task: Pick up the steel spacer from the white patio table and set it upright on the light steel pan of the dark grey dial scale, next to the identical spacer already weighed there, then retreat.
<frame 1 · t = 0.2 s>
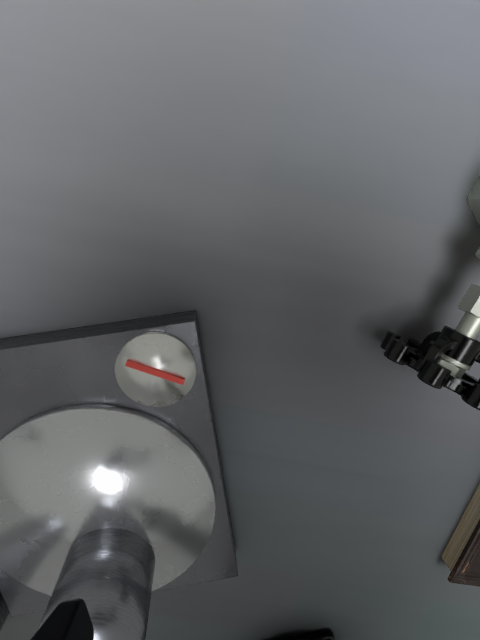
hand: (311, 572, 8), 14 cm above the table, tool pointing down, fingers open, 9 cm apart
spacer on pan: (111, 562, 22), point 3 cm above the table, touching dial scale
valve: (457, 261, 22), on the table
dial scale: (102, 461, 23), on the table
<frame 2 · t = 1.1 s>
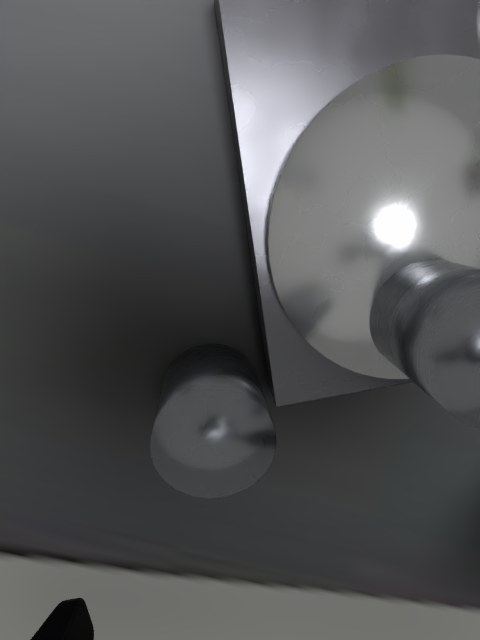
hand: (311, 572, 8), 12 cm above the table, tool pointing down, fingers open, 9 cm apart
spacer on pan: (424, 315, 17), point 3 cm above the table, touching dial scale
steel spacer: (211, 388, 20), on the table
dial scale: (393, 199, 18), on the table
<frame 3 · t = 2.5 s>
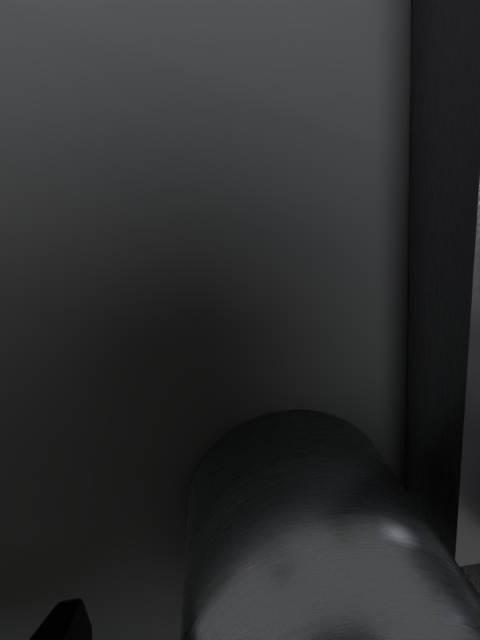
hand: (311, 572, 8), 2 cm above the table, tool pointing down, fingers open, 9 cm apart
steel spacer: (289, 498, 10), on the table
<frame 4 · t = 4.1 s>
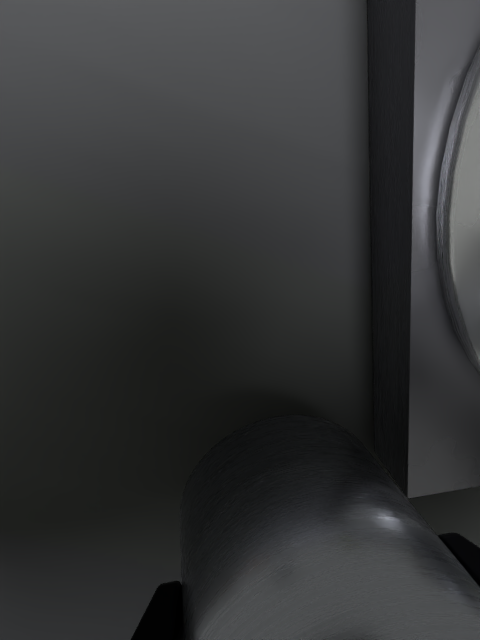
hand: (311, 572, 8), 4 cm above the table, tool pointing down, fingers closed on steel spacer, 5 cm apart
steel spacer: (281, 505, 9), point 2 cm above the table, touching gripper
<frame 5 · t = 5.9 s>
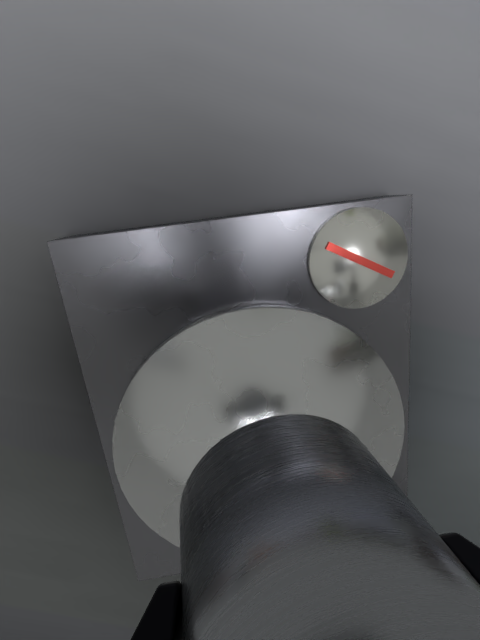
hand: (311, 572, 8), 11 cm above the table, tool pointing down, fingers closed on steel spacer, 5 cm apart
steel spacer: (282, 505, 9), point 9 cm above the table, touching gripper
dial scale: (252, 391, 19), on the table
when the fingers open (5 cm above the table, at t = 7.7 s): steel spacer stays where it is, resting on dial scale.
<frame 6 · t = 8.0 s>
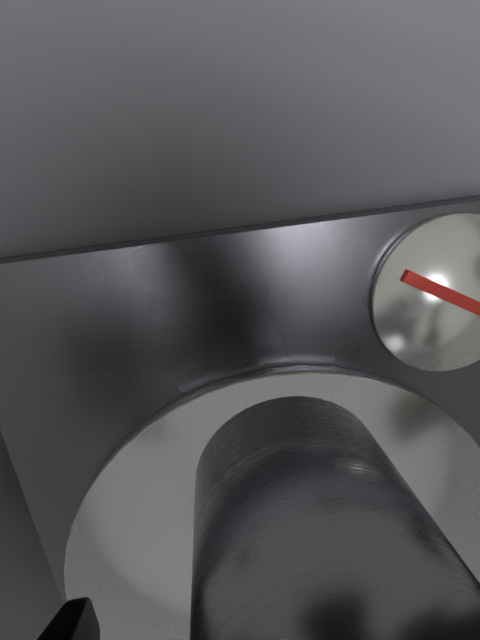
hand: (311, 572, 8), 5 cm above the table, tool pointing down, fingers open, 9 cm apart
steel spacer: (288, 479, 10), point 3 cm above the table, touching dial scale
dial scale: (273, 474, 13), on the table
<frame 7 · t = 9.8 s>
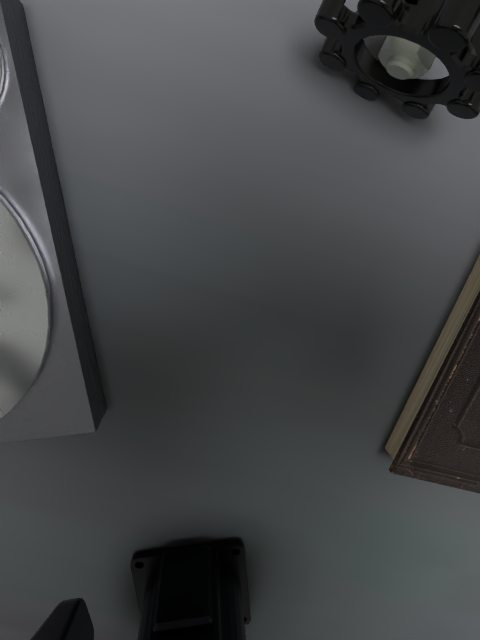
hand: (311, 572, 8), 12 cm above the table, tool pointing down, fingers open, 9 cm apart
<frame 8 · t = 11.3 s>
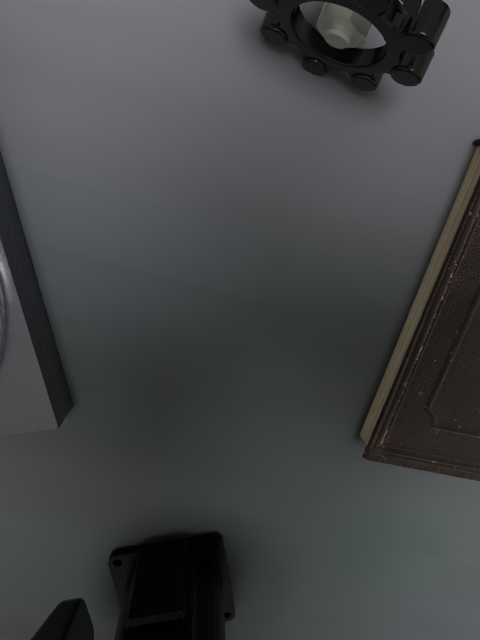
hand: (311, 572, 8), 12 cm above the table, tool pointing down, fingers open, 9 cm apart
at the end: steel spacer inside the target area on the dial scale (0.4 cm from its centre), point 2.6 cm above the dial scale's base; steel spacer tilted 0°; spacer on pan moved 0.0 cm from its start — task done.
